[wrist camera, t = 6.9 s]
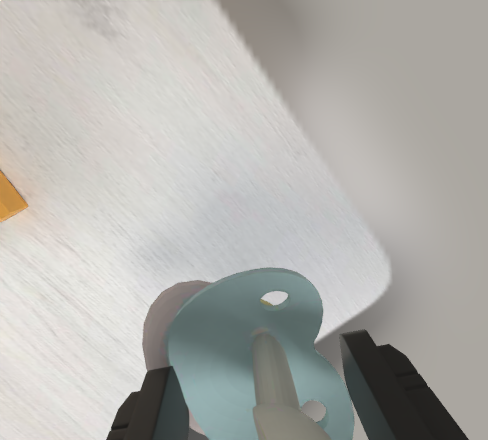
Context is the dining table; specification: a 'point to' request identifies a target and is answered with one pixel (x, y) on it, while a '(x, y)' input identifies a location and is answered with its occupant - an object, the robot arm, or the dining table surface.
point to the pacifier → (248, 357)
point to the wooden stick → (9, 199)
